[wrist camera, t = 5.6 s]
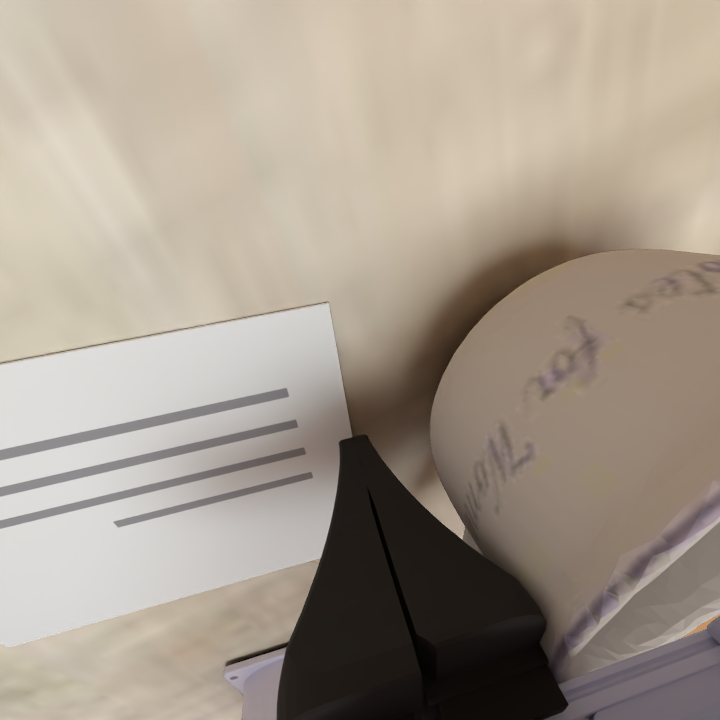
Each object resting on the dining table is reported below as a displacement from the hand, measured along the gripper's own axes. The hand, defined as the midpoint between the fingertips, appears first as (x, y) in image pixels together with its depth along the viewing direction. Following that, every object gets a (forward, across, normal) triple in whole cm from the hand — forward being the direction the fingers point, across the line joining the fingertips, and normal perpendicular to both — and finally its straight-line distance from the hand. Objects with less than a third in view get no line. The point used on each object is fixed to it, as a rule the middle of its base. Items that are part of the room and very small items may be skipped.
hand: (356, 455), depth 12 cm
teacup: (+1, -6, -1) cm, 6 cm away
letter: (+1, +9, +1) cm, 9 cm away
